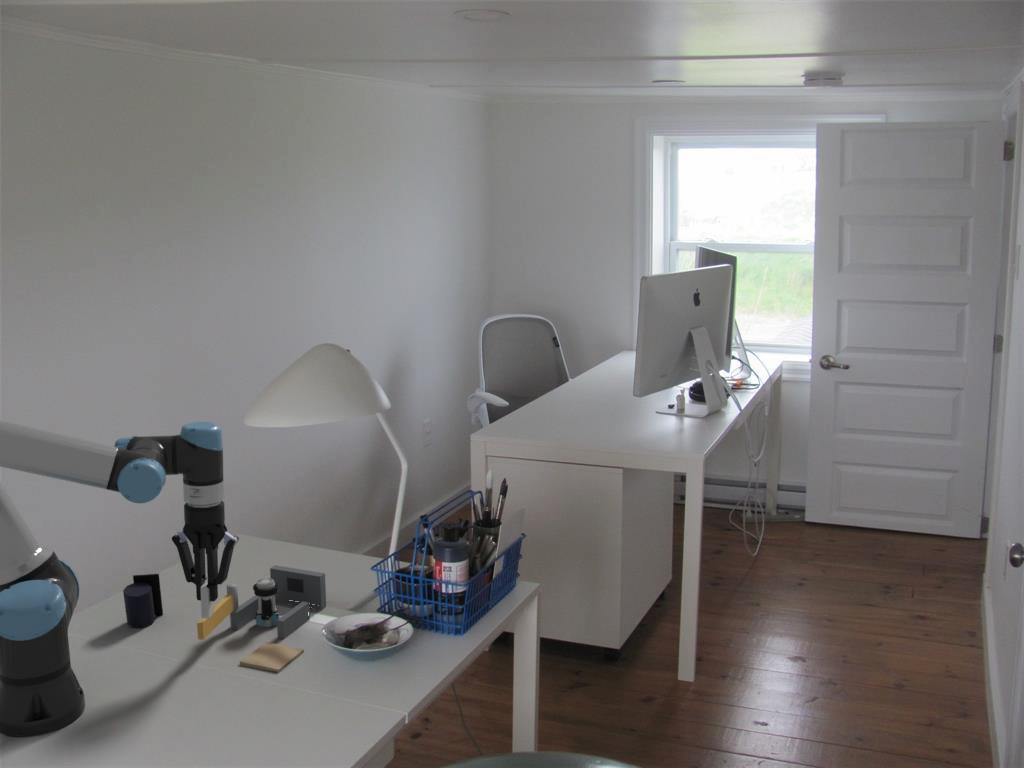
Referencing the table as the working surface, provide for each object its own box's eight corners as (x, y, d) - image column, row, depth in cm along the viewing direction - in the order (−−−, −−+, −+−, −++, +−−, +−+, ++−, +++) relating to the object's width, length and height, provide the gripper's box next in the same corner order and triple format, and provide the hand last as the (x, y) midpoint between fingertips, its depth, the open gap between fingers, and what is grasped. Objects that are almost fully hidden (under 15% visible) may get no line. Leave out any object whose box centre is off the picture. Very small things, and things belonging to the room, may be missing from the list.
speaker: (139, 611, 224) (135, 569, 221) (163, 614, 223) (160, 572, 220) (121, 629, 217) (117, 586, 213) (146, 633, 216) (142, 590, 213)
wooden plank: (230, 605, 217) (229, 583, 216) (240, 605, 217) (239, 584, 216) (195, 639, 202) (194, 615, 201) (206, 639, 201) (204, 616, 200)
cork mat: (278, 672, 198) (278, 669, 197) (239, 664, 201) (239, 661, 201) (303, 652, 206) (303, 649, 206) (266, 644, 209) (265, 642, 209)
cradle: (283, 639, 211) (282, 603, 210) (228, 628, 216) (226, 593, 214) (326, 606, 227) (325, 573, 225) (273, 597, 232) (272, 564, 230)
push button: (285, 617, 222) (283, 574, 220) (287, 627, 217) (285, 584, 215) (254, 621, 220) (251, 578, 218) (255, 631, 215) (253, 587, 213)
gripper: (163, 506, 193) (168, 621, 198) (229, 510, 192) (232, 625, 197) (179, 493, 200) (184, 605, 205) (243, 497, 199) (246, 609, 204)
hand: (207, 615), depth 201 cm, fingers closed
